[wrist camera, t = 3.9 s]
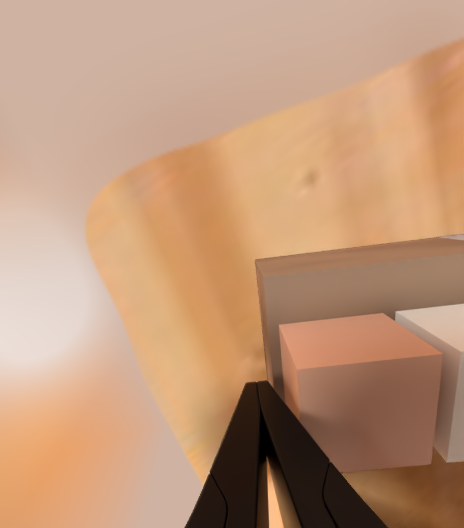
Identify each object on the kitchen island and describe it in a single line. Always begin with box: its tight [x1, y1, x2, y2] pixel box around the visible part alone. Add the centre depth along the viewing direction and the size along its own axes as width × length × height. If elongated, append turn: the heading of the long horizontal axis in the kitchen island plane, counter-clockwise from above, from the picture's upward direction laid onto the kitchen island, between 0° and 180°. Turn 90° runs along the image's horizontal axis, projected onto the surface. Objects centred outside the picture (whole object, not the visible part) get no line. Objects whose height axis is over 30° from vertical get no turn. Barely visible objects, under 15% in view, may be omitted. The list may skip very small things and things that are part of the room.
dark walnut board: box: [255, 237, 464, 402], centre depth 10 cm, size 8×9×3 cm
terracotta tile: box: [279, 313, 443, 473], centre depth 8 cm, size 4×4×2 cm
